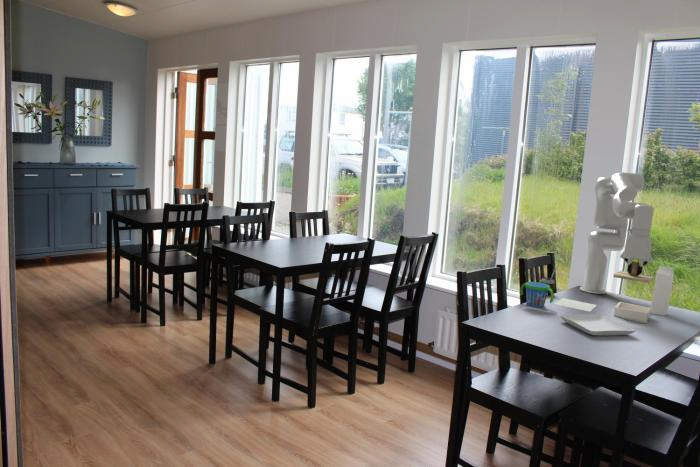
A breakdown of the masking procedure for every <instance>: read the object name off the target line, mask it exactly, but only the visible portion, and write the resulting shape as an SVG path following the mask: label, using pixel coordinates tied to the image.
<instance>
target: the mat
mask: <svg viewBox="0 0 700 467" xmlns="http://www.w3.org/2000/svg"><path fill="white" fill-rule="evenodd" d="M553 305H556V306H561V307H565V308H571V309H575V310H580V311H585V312H592V311H593V310H594V309H595V308H596V307H597V304H593V303H589V302H585V301H584V302H583V301H579V300H574V299H569V298H564V297H561V298H560V299H558V300H557V301H555V303H553Z"/></svg>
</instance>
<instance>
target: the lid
mask: <svg viewBox="0 0 700 467" xmlns="http://www.w3.org/2000/svg"><path fill="white" fill-rule="evenodd" d="M631 263H632V266H631V272H630V274H628V272H627V271H624V270H618V271H617V272H615V273H614V274H613V278H618V279H622V280H629V281H635V282H639V283H644V284H645V283H646V284H650V283H651V282H652V281H653V279H654V276H653V275H648V274H640V275H639V276H638V275H637V273H638V267H639V265H640V261H633V260H632V262H631Z"/></svg>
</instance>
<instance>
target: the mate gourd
mask: <svg viewBox="0 0 700 467" xmlns="http://www.w3.org/2000/svg"><path fill="white" fill-rule="evenodd" d="M559 266H560V265H559V264H558V265H557V266H555V268H554V269H553V270H552V271H553V272H552V274H551V277H550V278H549V277H548V278H547V277H542V278H541V280H540V282H539V283H544V284H547V285H549V286H550V288H551V289H552V291H553V293H554V291H555V289H556V288H555V286H556V282H555V279H553V277H554V274H555V272H556V271H557V268H559ZM547 295H550V296H551V292H550V291H549V290H548V294H547Z"/></svg>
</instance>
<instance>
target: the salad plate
mask: <svg viewBox="0 0 700 467" xmlns="http://www.w3.org/2000/svg"><path fill="white" fill-rule="evenodd" d="M559 317H560V318H561V319H562V321H563V322H565V323H567V324H569V325H571V326H572V327H574V328H575V329H578V330H579V331H582V332H584V333H586V334H588V335H590V334H591V335H590V336H596V335H597V336H626V335H632V334H633V333H635V332H636V331H637V330H636V329H634V328H632V327H630V326H629V325H626V324H625V323H622V322H619V321H617V320H616V319H613V318H610V317H609V316H606V315H604V314H601V313H600V314H595V313H593V314H590V313H589V314H587V313H586V314H585V313H584V314H583V313H582V314H581V313H580V314H559Z"/></svg>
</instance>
